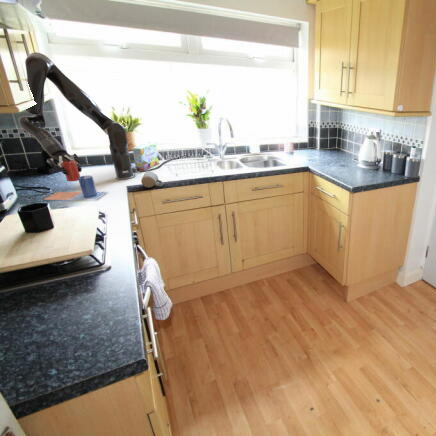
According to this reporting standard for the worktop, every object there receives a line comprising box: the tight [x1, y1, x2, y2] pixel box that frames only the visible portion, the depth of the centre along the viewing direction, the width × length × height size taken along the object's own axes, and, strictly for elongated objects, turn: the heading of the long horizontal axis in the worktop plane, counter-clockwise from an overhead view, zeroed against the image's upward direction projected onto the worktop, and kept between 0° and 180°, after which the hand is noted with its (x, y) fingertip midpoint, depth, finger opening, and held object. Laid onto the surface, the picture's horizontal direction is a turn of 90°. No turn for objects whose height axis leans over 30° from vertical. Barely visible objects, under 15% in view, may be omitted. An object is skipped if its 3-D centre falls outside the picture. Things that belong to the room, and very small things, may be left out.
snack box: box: [131, 142, 160, 171], centre depth 218 cm, size 21×6×15 cm, turn 1°
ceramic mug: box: [140, 171, 164, 189], centre depth 183 cm, size 11×8×8 cm
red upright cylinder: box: [62, 159, 81, 182], centre depth 169 cm, size 6×6×10 cm
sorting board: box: [43, 191, 107, 201], centre depth 165 cm, size 11×24×1 cm, turn 99°
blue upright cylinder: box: [78, 175, 98, 198], centre depth 163 cm, size 6×6×10 cm
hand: (74, 172), depth 169 cm, fingers closed on red upright cylinder, 6 cm apart
